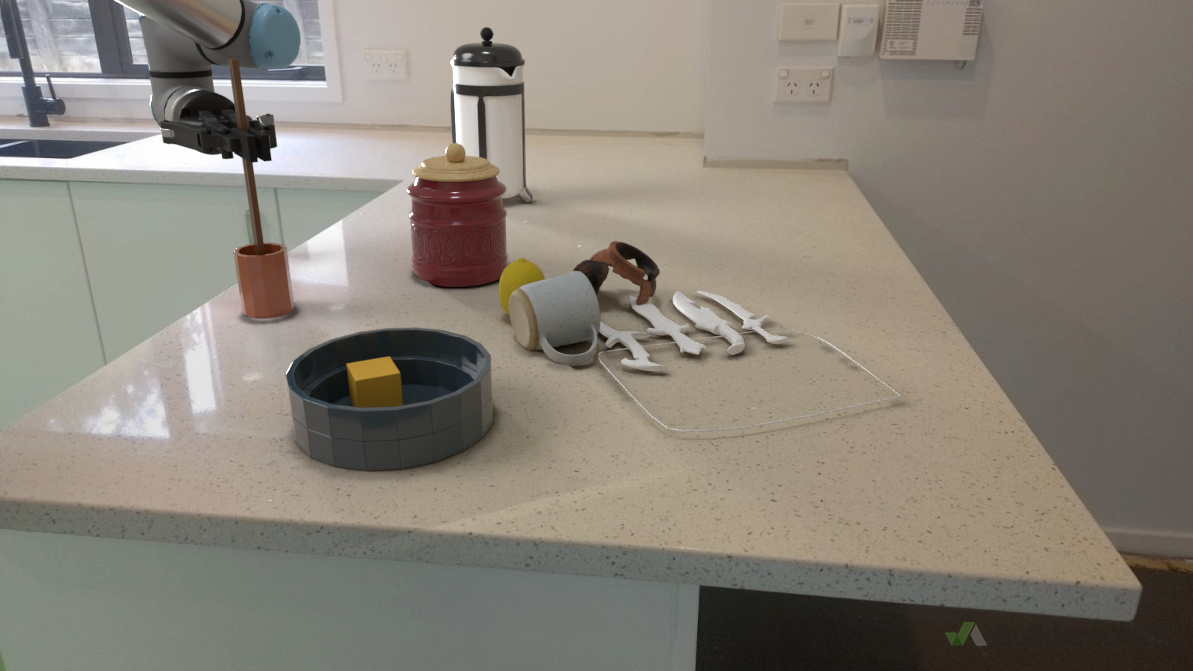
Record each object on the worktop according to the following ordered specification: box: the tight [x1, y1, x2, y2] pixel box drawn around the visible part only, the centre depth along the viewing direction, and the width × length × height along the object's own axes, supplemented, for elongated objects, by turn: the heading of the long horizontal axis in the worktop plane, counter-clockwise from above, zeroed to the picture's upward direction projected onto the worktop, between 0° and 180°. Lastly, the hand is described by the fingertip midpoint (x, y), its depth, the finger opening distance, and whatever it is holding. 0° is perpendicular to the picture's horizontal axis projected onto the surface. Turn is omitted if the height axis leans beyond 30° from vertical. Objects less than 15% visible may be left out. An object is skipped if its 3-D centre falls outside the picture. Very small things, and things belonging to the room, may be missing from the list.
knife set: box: [597, 290, 901, 433], centre depth 91 cm, size 26×35×1 cm
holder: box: [232, 242, 295, 319], centre depth 98 cm, size 6×6×8 cm
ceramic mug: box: [508, 270, 601, 367], centre depth 90 cm, size 11×8×8 cm
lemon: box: [497, 257, 546, 317], centre depth 97 cm, size 6×6×8 cm
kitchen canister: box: [406, 142, 509, 288], centre depth 112 cm, size 13×13×18 cm
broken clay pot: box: [572, 240, 661, 305], centre depth 104 cm, size 12×10×8 cm
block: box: [346, 357, 403, 408], centre depth 76 cm, size 4×4×4 cm
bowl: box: [285, 326, 494, 472], centre depth 74 cm, size 17×17×6 cm
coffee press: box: [449, 26, 534, 204], centre depth 149 cm, size 17×16×30 cm
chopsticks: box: [228, 58, 265, 255], centre depth 93 cm, size 1×2×22 cm, turn 36°
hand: (259, 148), depth 88 cm, fingers closed on chopsticks, 1 cm apart
